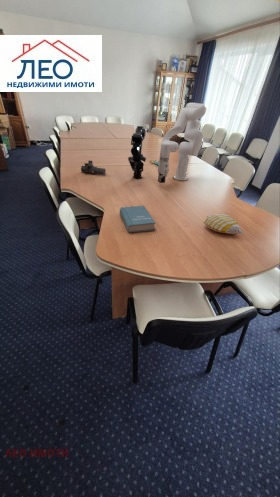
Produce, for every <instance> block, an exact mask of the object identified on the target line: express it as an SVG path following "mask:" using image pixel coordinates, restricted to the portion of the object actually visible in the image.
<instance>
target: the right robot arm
mask: <svg viewBox="0 0 280 497" xmlns="http://www.w3.org/2000/svg"><path fill="white" fill-rule="evenodd" d="M206 113H207V105H206V104H205V103H199V102H188V103H186V105H185V107H182V108H181V109H180V112H179V113H178V116H177V118H176V120H175V123H174V125H173V127H172V128H170V129H169V130H168V131H167V132H166V133H165V134H164V136H163V138H162V141H161V144H160V149H159V160H158V161H159V165H157V173H158V176H161V175H162V178H161V183H160V184H165V183H166V178H167V177H168V175H169V170H168V169H169V166H170V163H169V161H170V153H176V152H177V151H178V158H177V164H176V170H175V175H173V179H174V180H177V181H186V180H188V177H187V175H188V174H189V173H188V172H187V171H188V166H189V162H190V157H195V156H197V154H198V153H199V151H200V147H201V144H202V141H203V136H204V132H203V131H202V130H201V129H198V128H197V127H198V124H199V121H198V120H199V119H201V118H203V117H204V116H205V114H206ZM183 132H184V134H183V138H184V140H186V141H182V142H180V143H178V142H176V141H174V140H170V139H171V138H173V137H174V136H175V135H179V134H181V133H183ZM192 142H193V143H192ZM189 156H190V157H189ZM164 182H165V183H164Z"/></svg>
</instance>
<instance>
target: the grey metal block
mask: <svg viewBox="0 0 280 497" xmlns="http://www.w3.org/2000/svg"><path fill="white" fill-rule="evenodd" d="M161 178H162V175H161V176H159V175H158V177H157V182H158V183H159V184H162V183H161ZM165 183H166V181H165V182H164V183H163V184H165Z"/></svg>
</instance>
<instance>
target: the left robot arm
mask: <svg viewBox="0 0 280 497" xmlns="http://www.w3.org/2000/svg"><path fill="white" fill-rule="evenodd" d="M146 130H147V129H145V128H144V126H142V125H138V126H136V128H135V132H134V133H133V134H132V135H131V140H130V146H132V147H131V149H130V153H131V156H128V158H127V160H128V163H129V166H130V167H131V170H132V171H133V175H132V178H134V179H136V180H139V179H143V176H142V173H143V172H144V166H145V164H144V163H145V162H146V161H147V157H146V156H144V154H143V153H142V152H143V143H144V140H145V137H146V135H147V131H146Z"/></svg>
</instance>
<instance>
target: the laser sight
mask: <svg viewBox="0 0 280 497" xmlns="http://www.w3.org/2000/svg"><path fill="white" fill-rule="evenodd" d="M80 171H81V173H84V174H89V175H101V176H105V175H106V173H107V172H106V168H104V167H97V166H94V164H93V160H88V162H84V165H81V166H80Z"/></svg>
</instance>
